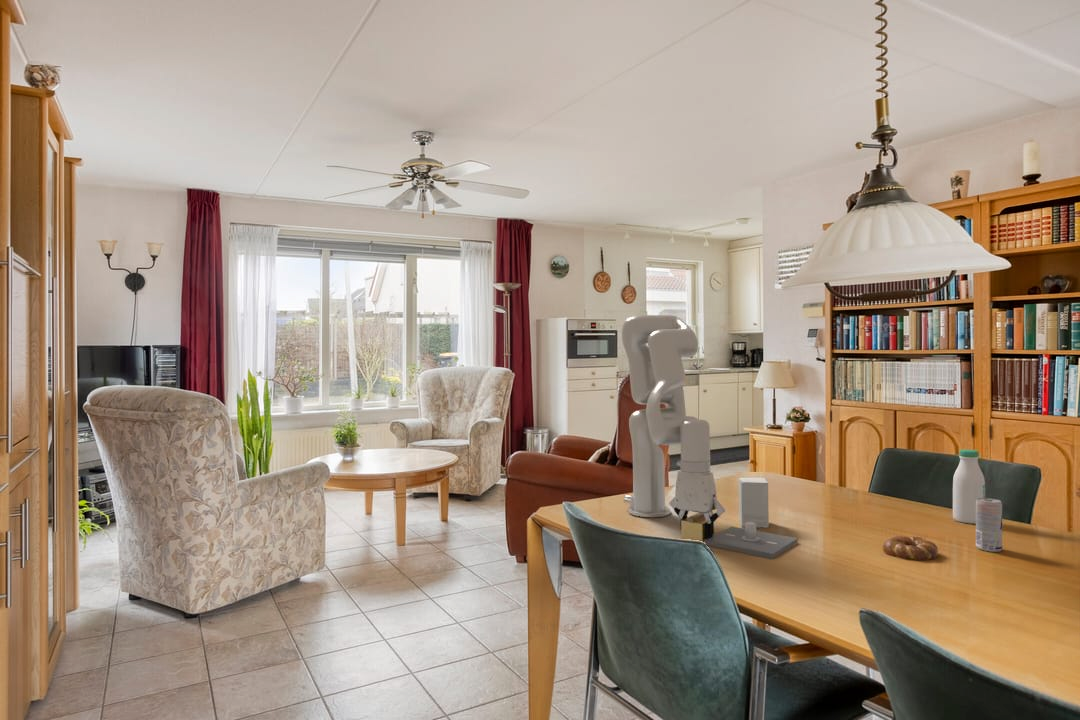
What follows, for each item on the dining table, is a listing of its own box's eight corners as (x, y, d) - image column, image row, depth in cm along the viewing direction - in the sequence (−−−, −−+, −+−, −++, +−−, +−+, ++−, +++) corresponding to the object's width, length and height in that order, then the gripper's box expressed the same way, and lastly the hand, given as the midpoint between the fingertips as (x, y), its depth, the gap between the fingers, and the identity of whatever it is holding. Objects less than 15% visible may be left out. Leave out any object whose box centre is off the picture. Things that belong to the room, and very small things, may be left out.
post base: (703, 544, 170) (703, 524, 170) (731, 530, 182) (731, 511, 182) (772, 558, 158) (772, 537, 158) (797, 542, 170) (797, 522, 170)
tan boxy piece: (701, 545, 170) (701, 519, 170) (680, 540, 174) (680, 516, 174) (714, 538, 175) (713, 514, 175) (693, 534, 179) (692, 510, 179)
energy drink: (1001, 547, 164) (1001, 499, 163) (1003, 553, 159) (1003, 503, 159) (975, 544, 166) (975, 496, 166) (976, 550, 162) (976, 501, 161)
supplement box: (769, 528, 184) (768, 482, 184) (741, 527, 186) (740, 482, 185) (765, 521, 191) (765, 477, 191) (738, 520, 193) (738, 476, 193)
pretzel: (890, 561, 156) (890, 545, 156) (876, 547, 167) (876, 532, 167) (947, 563, 154) (946, 547, 154) (928, 548, 165) (928, 533, 165)
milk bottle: (979, 526, 182) (979, 453, 182) (948, 520, 188) (948, 450, 187) (989, 521, 187) (989, 450, 186) (958, 515, 193) (958, 447, 192)
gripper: (659, 465, 177) (660, 533, 177) (719, 472, 166) (721, 544, 166) (673, 462, 183) (675, 527, 183) (733, 467, 172) (734, 537, 172)
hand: (697, 534), depth 174 cm, fingers closed on tan boxy piece, 6 cm apart
